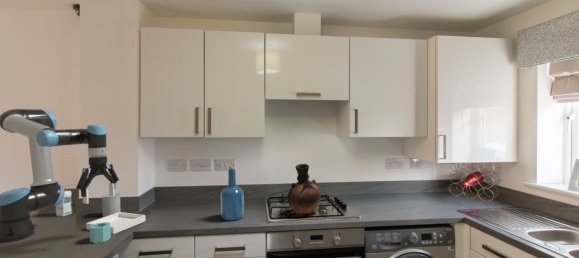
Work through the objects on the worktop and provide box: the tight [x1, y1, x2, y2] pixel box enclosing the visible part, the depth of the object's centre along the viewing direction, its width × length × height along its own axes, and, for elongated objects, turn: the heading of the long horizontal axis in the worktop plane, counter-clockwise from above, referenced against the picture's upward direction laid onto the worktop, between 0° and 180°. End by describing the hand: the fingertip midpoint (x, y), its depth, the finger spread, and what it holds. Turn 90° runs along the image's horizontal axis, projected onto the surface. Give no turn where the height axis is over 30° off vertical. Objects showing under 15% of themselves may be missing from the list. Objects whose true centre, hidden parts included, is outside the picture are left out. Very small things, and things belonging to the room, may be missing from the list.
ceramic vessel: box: [286, 163, 322, 215], centre depth 175 cm, size 21×18×30 cm
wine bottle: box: [220, 166, 245, 221], centre depth 169 cm, size 14×13×30 cm
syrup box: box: [55, 190, 73, 217], centre depth 178 cm, size 6×6×14 cm
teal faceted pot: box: [89, 222, 112, 244], centre depth 140 cm, size 8×8×7 cm
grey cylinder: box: [101, 192, 121, 218], centre depth 177 cm, size 10×10×12 cm
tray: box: [85, 211, 146, 235], centre depth 159 cm, size 20×20×3 cm
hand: (99, 199), depth 141 cm, fingers open, 13 cm apart
